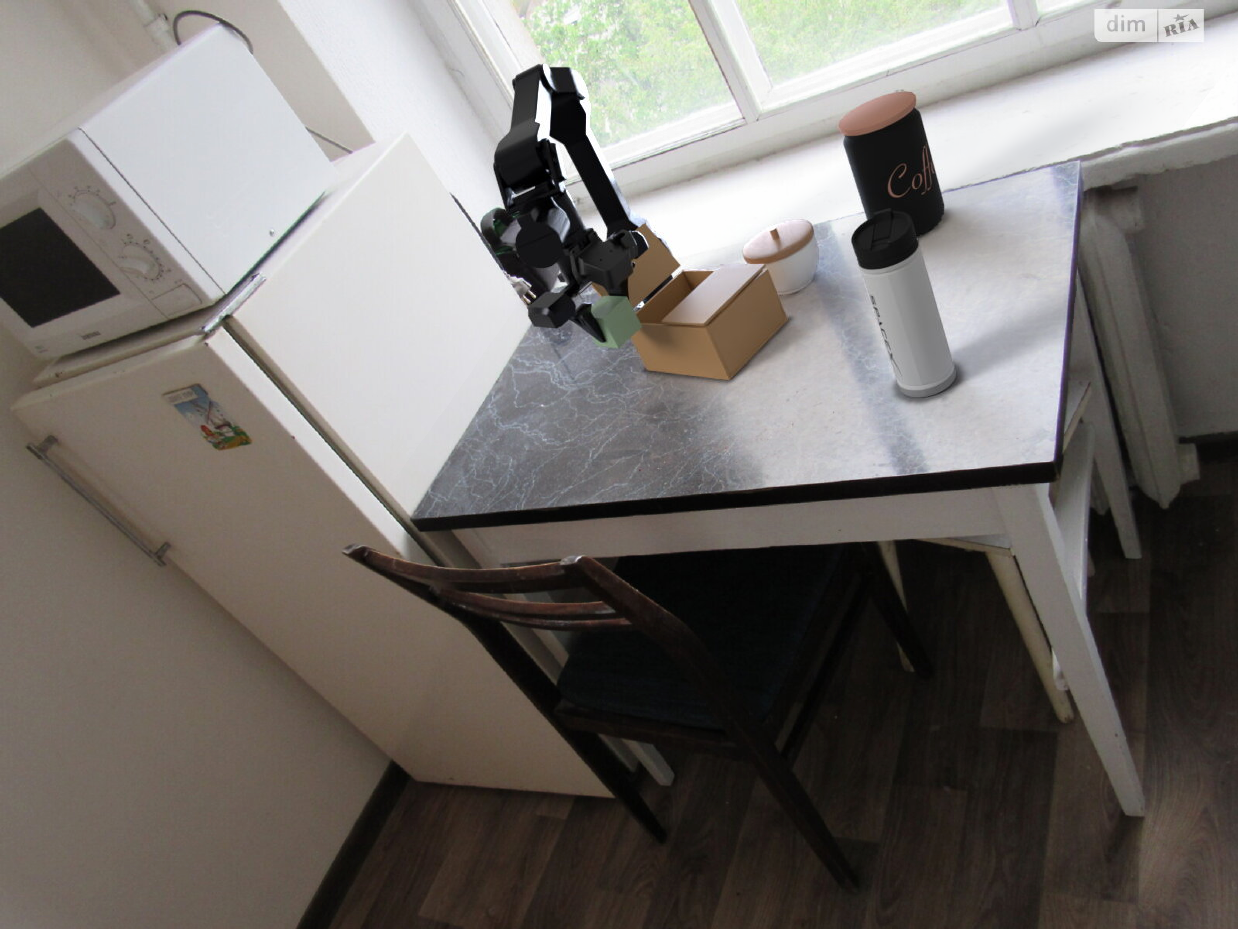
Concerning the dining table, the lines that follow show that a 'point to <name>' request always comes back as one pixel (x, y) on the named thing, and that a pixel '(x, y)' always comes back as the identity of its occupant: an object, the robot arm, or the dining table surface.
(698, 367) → the carton
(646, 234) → the flap
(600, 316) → the block
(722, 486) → the dining table surface
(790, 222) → the trinket box
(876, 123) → the coffee jar
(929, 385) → the travel mug
